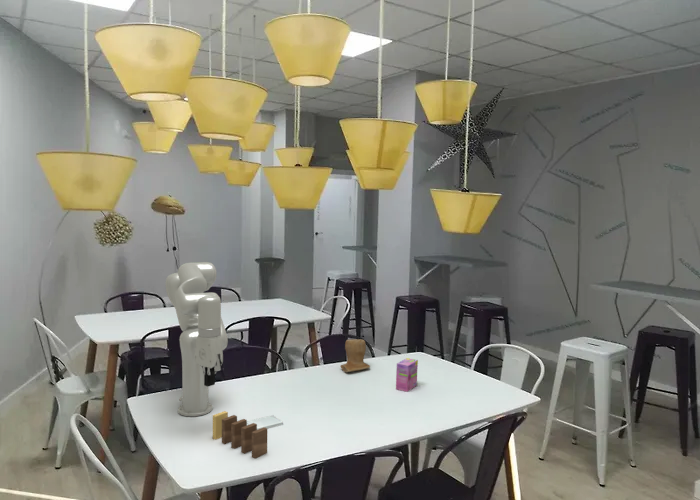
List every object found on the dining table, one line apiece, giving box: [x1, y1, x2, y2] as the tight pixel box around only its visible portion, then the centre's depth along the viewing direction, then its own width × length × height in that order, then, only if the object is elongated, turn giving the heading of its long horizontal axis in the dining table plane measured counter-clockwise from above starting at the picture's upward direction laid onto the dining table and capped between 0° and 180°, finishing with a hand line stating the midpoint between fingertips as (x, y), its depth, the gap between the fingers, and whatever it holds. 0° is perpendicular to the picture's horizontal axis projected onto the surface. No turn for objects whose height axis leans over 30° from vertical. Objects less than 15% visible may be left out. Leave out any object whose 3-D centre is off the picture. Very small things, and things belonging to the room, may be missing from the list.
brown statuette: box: [340, 338, 371, 373], centre depth 251 cm, size 15×12×15 cm
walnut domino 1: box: [221, 414, 238, 445], centre depth 169 cm, size 2×5×8 cm, turn 141°
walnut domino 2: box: [230, 418, 248, 450], centre depth 166 cm, size 2×5×8 cm, turn 141°
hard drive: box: [247, 414, 284, 430], centre depth 184 cm, size 2×8×12 cm
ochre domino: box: [212, 410, 229, 441], centre depth 173 cm, size 2×5×8 cm, turn 142°
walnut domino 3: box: [240, 423, 257, 454], centre depth 163 cm, size 2×5×8 cm, turn 141°
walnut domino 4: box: [251, 427, 268, 460], centre depth 160 cm, size 2×5×8 cm, turn 141°
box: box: [395, 357, 419, 393], centre depth 226 cm, size 10×6×12 cm, turn 148°
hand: (209, 385), depth 175 cm, fingers closed
